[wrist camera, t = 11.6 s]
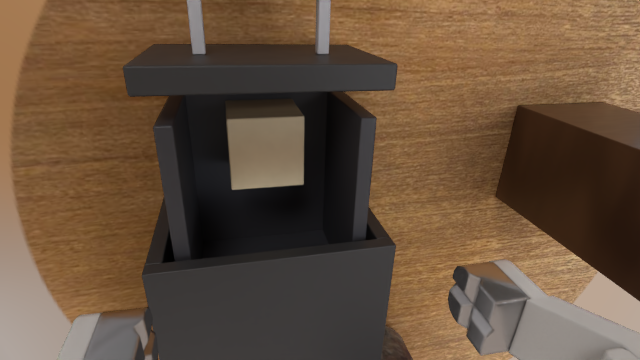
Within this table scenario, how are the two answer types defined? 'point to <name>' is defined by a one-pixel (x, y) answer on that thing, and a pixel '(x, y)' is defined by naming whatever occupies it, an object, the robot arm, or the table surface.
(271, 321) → the dark box sleeve
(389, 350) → the brown cylinder
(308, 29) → the table surface
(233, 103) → the cube
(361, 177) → the drawer
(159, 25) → the table surface
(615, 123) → the stand
